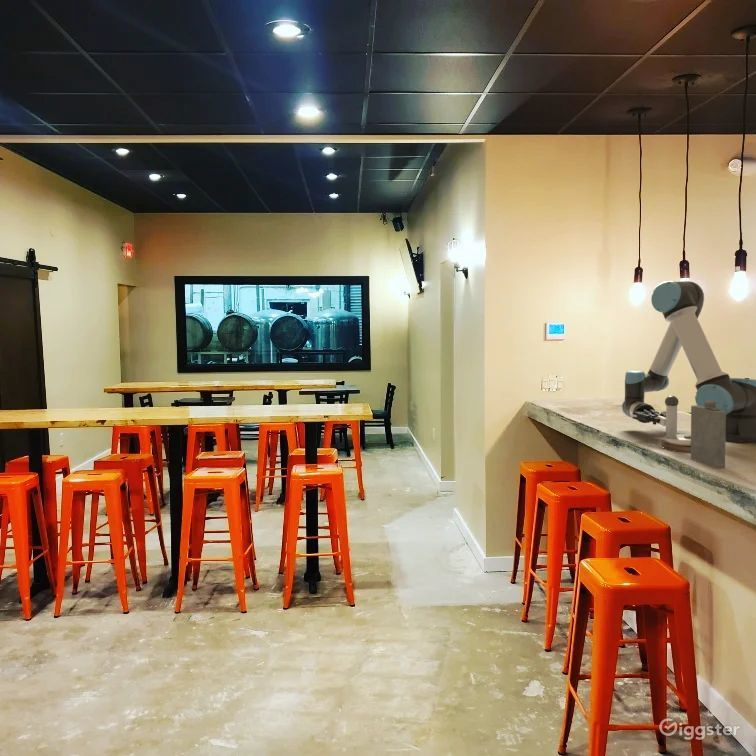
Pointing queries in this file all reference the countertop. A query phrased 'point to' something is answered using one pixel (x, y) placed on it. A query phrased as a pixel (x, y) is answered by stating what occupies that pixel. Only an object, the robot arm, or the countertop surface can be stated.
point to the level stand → (675, 447)
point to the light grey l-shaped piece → (674, 424)
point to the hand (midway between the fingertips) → (665, 422)
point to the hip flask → (708, 434)
